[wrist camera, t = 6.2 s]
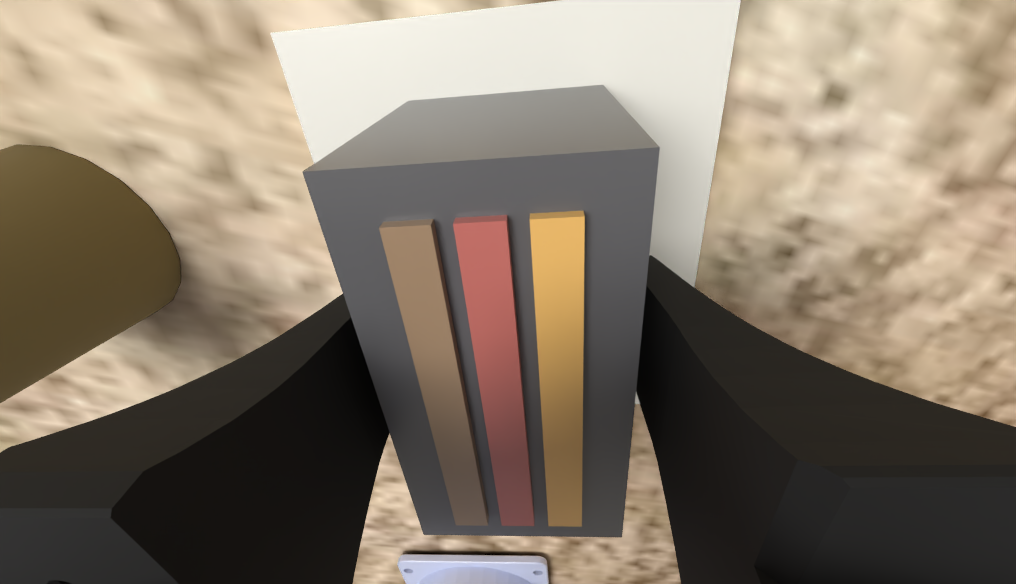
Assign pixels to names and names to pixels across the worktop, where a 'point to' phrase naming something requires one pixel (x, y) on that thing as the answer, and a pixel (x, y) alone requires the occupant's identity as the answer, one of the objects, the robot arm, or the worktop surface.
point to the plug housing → (500, 300)
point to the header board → (539, 81)
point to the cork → (72, 262)
